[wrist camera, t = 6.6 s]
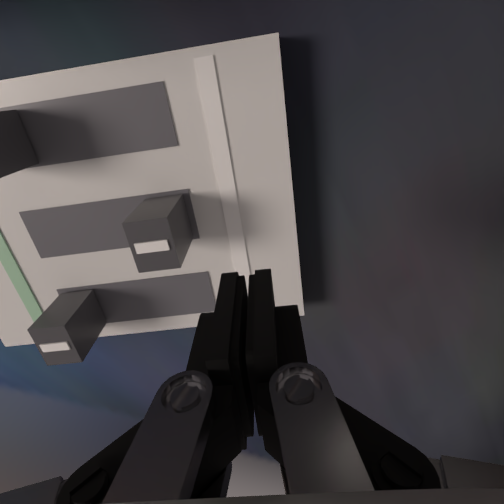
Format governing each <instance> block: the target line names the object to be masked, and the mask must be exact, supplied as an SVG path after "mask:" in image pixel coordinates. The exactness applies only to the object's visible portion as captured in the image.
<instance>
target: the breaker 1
mask: <svg viewBox="0 0 504 504" xmlns="http://www.w3.org/2000/svg"><path fill="white" fill-rule="evenodd" d="M36 164H39V162H38V160H37V157H36V155H35V152H34V150H33V148H32V145H31V143H30V141H29V138H28V136H27V134H26V131H25V129H24V127H23V124H22V122H21V120H20V117H19V115H18V113H17V110H16V109H15V110H6V111H0V178H2V177H5V176H7V175H10V174H12V173H15V172H18V171H20V170H23V169H26V168H28V167H31V166H34V165H36Z"/></svg>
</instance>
